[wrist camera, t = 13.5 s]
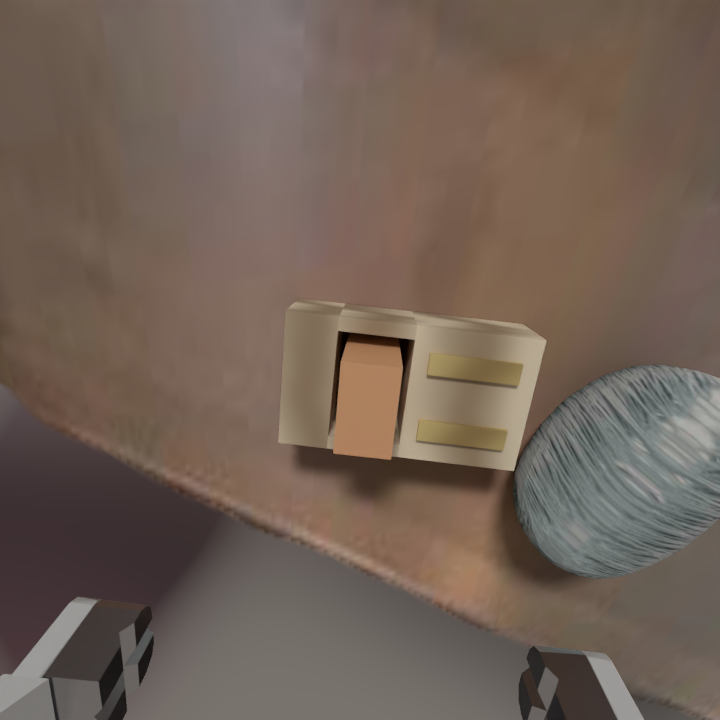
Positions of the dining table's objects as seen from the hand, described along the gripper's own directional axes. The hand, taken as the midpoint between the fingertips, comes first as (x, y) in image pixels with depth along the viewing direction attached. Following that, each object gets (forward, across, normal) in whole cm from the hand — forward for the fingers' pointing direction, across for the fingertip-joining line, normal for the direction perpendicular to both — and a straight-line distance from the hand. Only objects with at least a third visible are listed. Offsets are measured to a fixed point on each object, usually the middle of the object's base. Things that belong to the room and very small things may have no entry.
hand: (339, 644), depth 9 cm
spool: (+19, -16, +3) cm, 25 cm away
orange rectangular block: (+20, -1, 0) cm, 20 cm away
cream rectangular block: (+19, -3, 0) cm, 20 cm away
